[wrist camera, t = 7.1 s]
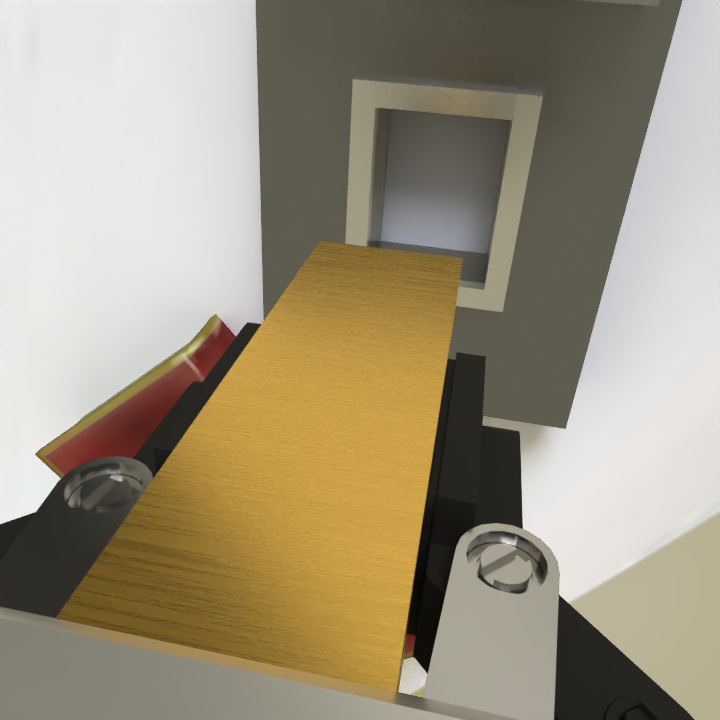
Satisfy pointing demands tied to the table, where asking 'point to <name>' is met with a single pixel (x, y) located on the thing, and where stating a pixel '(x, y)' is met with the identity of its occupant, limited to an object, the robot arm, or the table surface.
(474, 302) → the grey box with slot
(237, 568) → the brass peg in socket
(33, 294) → the table surface
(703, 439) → the table surface
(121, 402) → the hardcover book
